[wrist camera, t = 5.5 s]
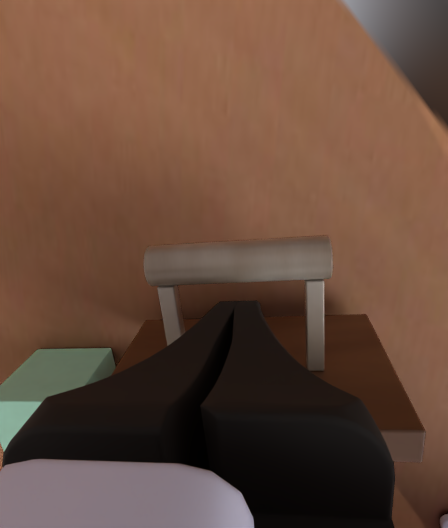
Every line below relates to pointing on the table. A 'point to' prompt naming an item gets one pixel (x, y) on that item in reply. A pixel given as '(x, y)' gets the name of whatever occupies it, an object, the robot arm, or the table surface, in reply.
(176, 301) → the drawer
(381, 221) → the table surface
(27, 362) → the note cube
